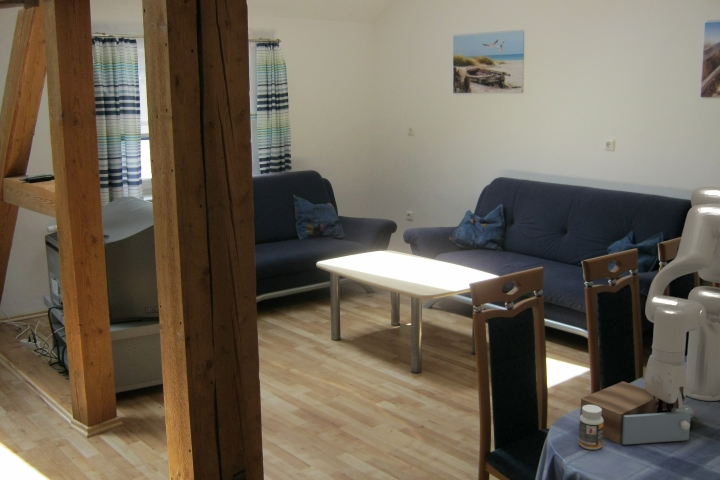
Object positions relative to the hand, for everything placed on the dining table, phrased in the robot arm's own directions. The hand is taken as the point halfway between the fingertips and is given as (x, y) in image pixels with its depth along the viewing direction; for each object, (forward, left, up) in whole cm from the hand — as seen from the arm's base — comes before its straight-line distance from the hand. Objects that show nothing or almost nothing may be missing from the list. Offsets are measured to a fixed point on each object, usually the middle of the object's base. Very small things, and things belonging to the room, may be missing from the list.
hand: (663, 422), depth 189 cm
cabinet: (+3, -10, -4) cm, 11 cm away
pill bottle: (+18, -8, -4) cm, 21 cm away
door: (+5, +2, -3) cm, 6 cm away
